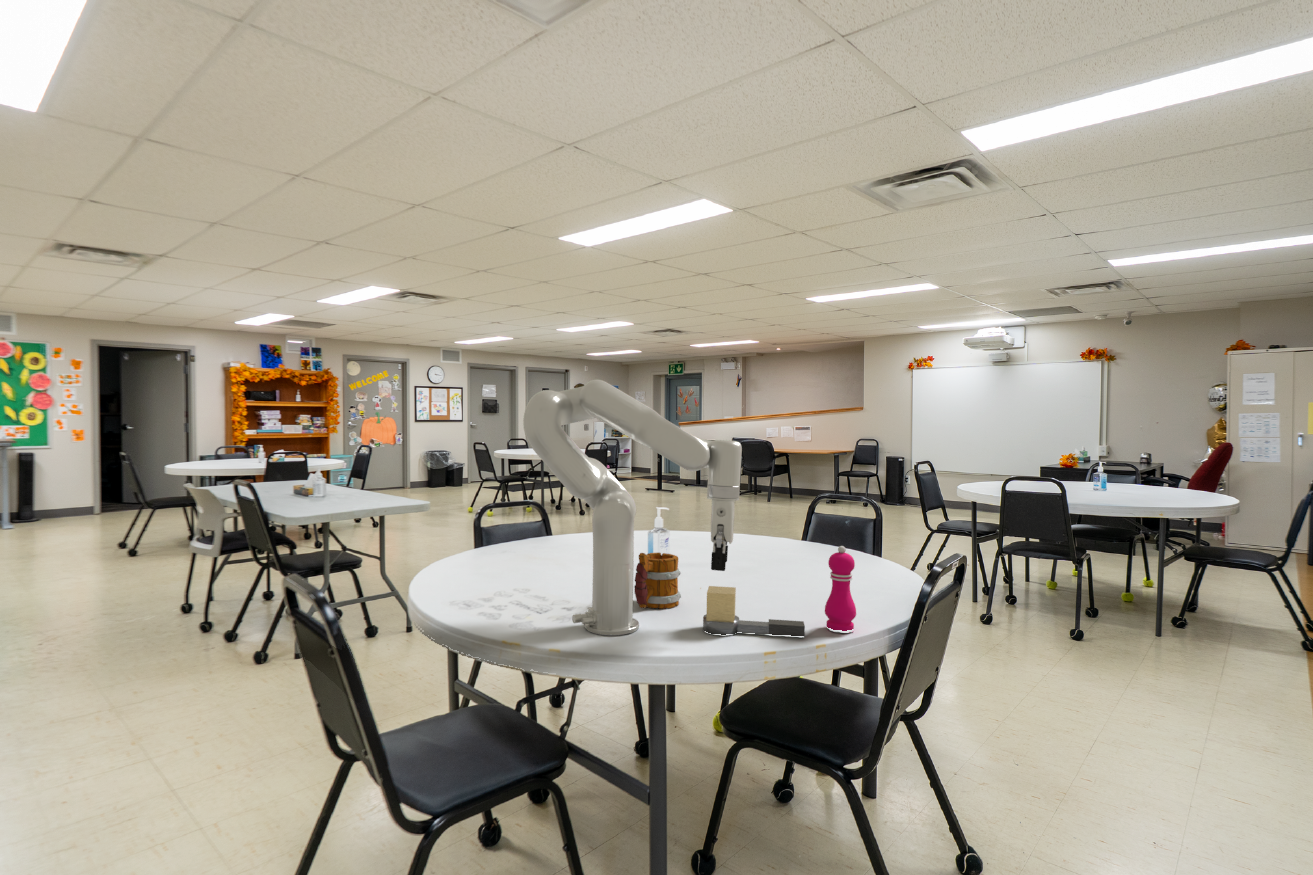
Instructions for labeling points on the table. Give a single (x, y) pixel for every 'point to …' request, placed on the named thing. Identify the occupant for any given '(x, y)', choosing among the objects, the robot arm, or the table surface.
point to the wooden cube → (721, 604)
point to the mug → (657, 581)
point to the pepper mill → (840, 592)
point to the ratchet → (755, 627)
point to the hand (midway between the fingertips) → (719, 565)
